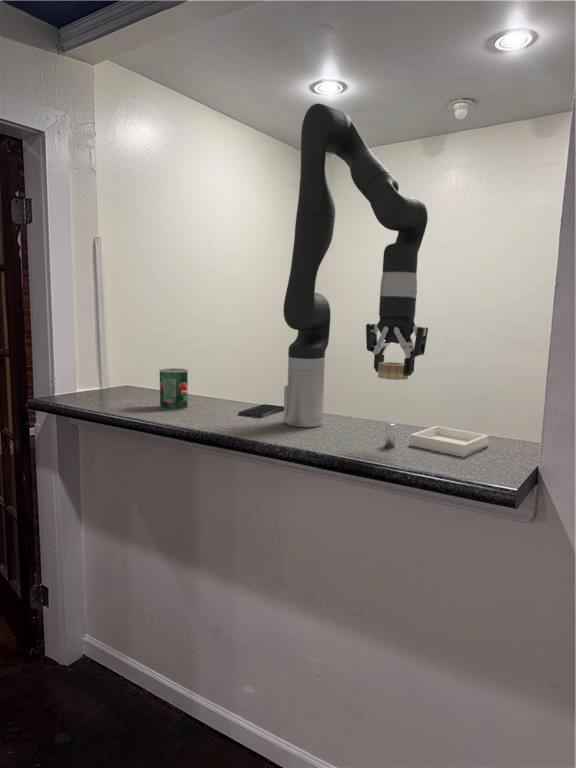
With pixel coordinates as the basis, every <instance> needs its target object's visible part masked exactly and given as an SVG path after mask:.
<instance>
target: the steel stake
mask: <svg viewBox="0 0 576 768" xmlns="http://www.w3.org/2000/svg"><path fill="white" fill-rule="evenodd" d="M396 435H397V424H396V423H395V422H387V423H386V422H385V435H384V438H385V439H384V447H385V448H390V447H392V448H395V447H396Z"/></svg>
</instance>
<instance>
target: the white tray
mask: <svg viewBox="0 0 576 768" xmlns="http://www.w3.org/2000/svg"><path fill="white" fill-rule="evenodd" d="M489 437H490V435H489V434H484V433H483V434H482V433H478V432H473V431H467V430H461V429H456V428H455V429H454V428H451V427H450V428H449V427H445V426H438V425H435V426H431V427H429V428H425V429H422V430H420V431H417V432H413V433H411V434H409V443H408V445H410V447H414V446H415V448H418V447H419V448H420V449H423V448H424V450H428V449H429V450H428V451H434V452H437V451H438V453H442V454H449V455H451V456H457V457H461V458H465V457H468V456H471V455H472V454H474V453H476V452H478V451H481V450H483V449H485V448H487V447H489V439H490V438H489Z"/></svg>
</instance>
